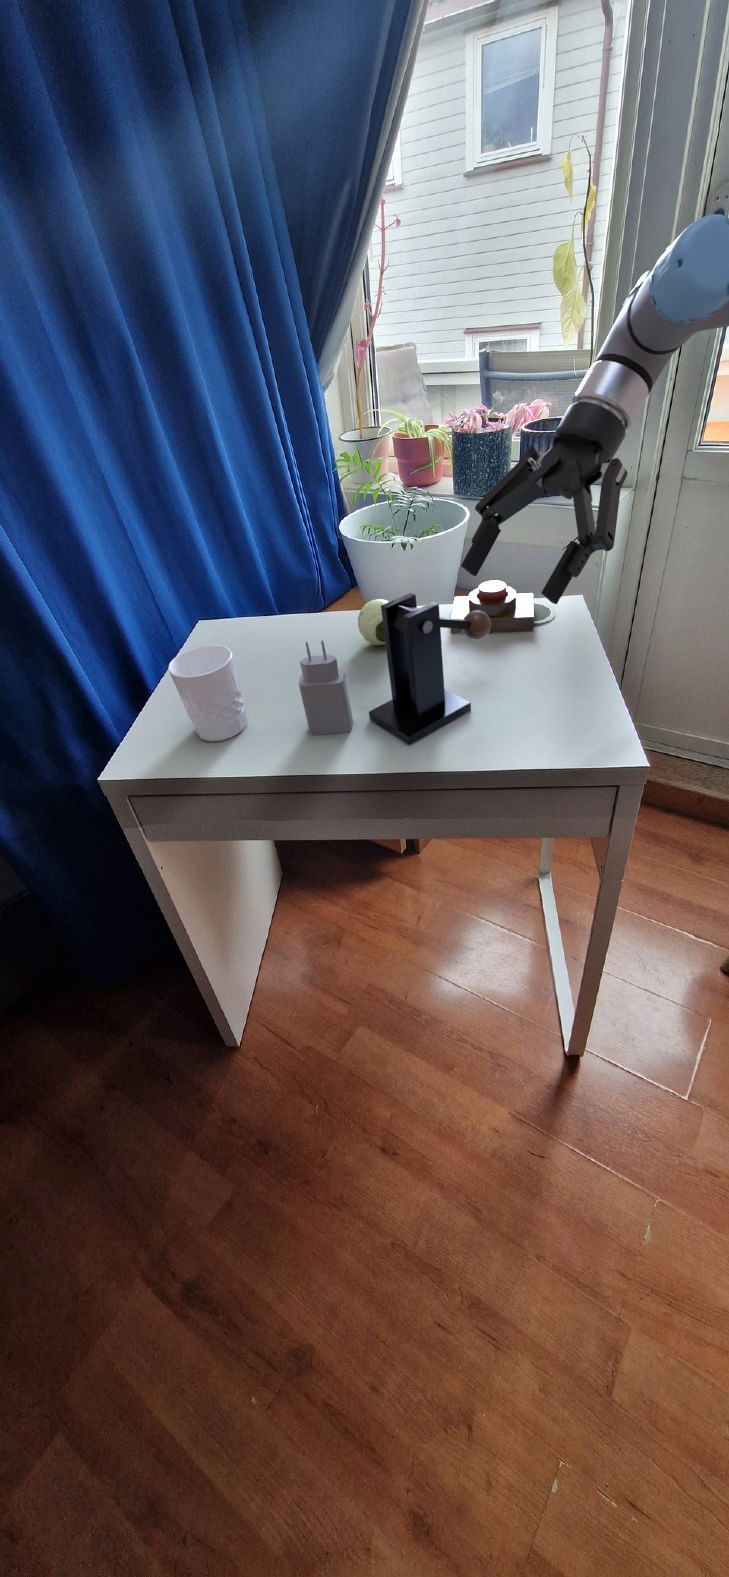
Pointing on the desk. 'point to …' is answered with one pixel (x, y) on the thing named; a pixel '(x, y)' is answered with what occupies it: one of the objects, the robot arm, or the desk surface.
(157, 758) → the desk surface
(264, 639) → the desk surface
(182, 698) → the white cup
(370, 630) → the tennis ball
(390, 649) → the bracket
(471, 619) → the lever
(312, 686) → the power adapter
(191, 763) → the desk surface
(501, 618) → the button block
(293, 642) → the desk surface
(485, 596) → the button
